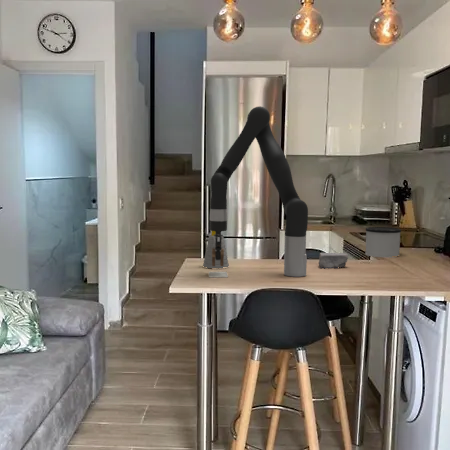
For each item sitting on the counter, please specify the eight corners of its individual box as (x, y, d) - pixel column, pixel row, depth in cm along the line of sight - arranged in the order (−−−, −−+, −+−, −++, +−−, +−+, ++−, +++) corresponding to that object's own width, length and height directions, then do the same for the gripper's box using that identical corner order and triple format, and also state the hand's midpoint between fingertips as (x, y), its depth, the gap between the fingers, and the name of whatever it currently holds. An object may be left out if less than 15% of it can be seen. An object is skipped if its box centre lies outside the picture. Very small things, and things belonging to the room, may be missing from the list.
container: (365, 251, 281) (366, 226, 280) (399, 253, 275) (400, 227, 274) (364, 256, 263) (365, 229, 262) (400, 258, 257) (401, 230, 256)
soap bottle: (224, 270, 219) (224, 225, 217) (198, 268, 223) (199, 224, 221) (232, 265, 230) (232, 223, 229) (208, 263, 234) (208, 222, 233)
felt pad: (226, 272, 212) (226, 271, 212) (227, 277, 201) (227, 276, 201) (208, 272, 212) (208, 271, 212) (208, 277, 201) (208, 276, 201)
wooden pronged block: (223, 264, 209) (223, 248, 208) (223, 266, 204) (223, 250, 203) (211, 264, 209) (212, 248, 208) (211, 266, 204) (212, 250, 203)
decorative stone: (312, 267, 230) (324, 269, 221) (312, 252, 230) (324, 255, 221) (337, 265, 236) (350, 268, 227) (337, 251, 235) (350, 253, 226)
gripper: (227, 221, 198) (227, 261, 199) (226, 218, 212) (225, 256, 213) (209, 220, 197) (209, 261, 199) (209, 218, 211) (209, 256, 213)
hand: (217, 258), depth 206 cm, fingers closed on wooden pronged block, 5 cm apart
